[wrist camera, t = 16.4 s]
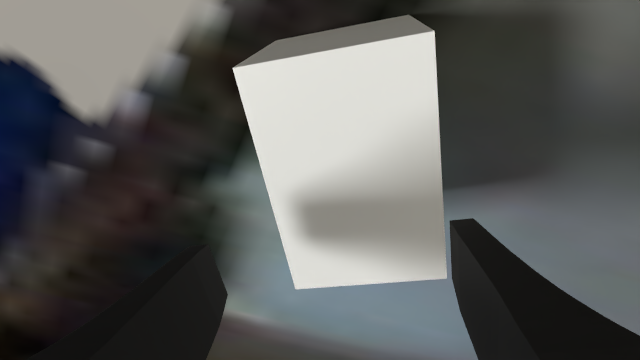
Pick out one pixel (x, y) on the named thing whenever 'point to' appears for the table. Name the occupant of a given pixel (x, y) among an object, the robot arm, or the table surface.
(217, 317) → the robot arm
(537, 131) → the table surface
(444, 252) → the cover
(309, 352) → the table surface
